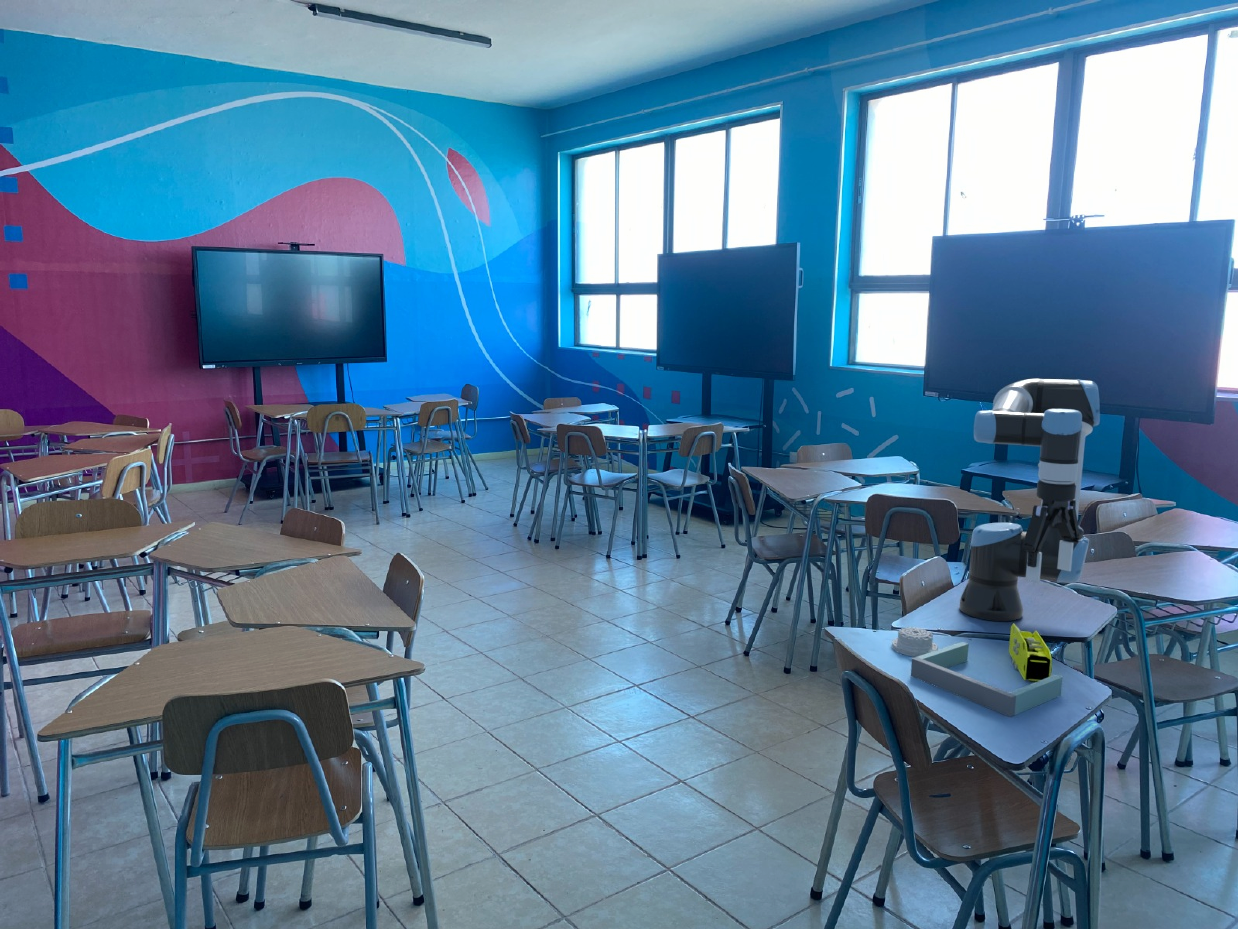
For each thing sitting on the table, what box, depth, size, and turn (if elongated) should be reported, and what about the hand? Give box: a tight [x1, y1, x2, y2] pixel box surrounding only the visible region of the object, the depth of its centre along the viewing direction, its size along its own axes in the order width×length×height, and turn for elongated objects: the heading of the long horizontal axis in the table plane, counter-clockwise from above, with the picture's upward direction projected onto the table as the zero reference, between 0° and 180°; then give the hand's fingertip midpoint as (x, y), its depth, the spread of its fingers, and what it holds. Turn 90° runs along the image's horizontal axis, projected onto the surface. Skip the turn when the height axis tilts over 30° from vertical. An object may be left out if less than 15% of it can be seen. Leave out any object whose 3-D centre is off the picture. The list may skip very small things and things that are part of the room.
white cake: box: [891, 626, 939, 658], centre depth 200 cm, size 10×4×10 cm
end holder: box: [910, 641, 1064, 718], centre depth 180 cm, size 18×23×4 cm
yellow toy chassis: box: [1008, 623, 1053, 683], centre depth 188 cm, size 16×6×8 cm, turn 167°
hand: (1048, 575), depth 191 cm, fingers open, 13 cm apart
